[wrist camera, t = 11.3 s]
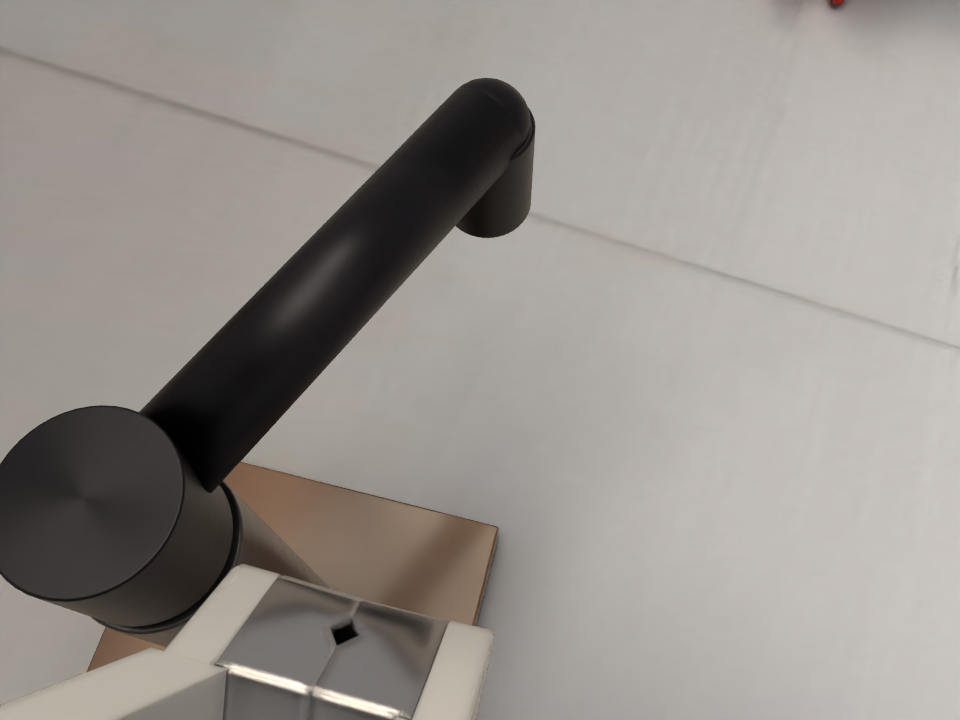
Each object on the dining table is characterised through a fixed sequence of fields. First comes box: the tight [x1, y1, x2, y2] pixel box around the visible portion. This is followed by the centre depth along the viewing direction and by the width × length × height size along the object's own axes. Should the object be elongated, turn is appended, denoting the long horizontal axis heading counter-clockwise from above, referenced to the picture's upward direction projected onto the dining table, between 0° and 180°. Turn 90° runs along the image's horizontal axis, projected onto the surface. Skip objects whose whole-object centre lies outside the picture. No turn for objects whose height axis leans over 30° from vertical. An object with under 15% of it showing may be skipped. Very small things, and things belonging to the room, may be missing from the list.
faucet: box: [87, 462, 498, 672], centre depth 24 cm, size 12×10×14 cm
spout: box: [0, 78, 535, 627], centre depth 18 cm, size 14×3×4 cm, turn 143°
